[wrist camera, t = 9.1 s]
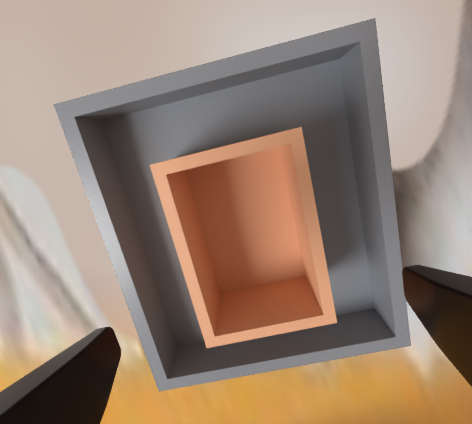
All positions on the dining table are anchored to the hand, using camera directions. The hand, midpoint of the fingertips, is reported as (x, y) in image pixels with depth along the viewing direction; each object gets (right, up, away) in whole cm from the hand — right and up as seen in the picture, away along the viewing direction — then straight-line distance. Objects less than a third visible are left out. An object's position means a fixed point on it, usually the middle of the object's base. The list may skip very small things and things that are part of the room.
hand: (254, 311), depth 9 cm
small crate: (0, +2, +10) cm, 10 cm away
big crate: (0, +3, +11) cm, 11 cm away
